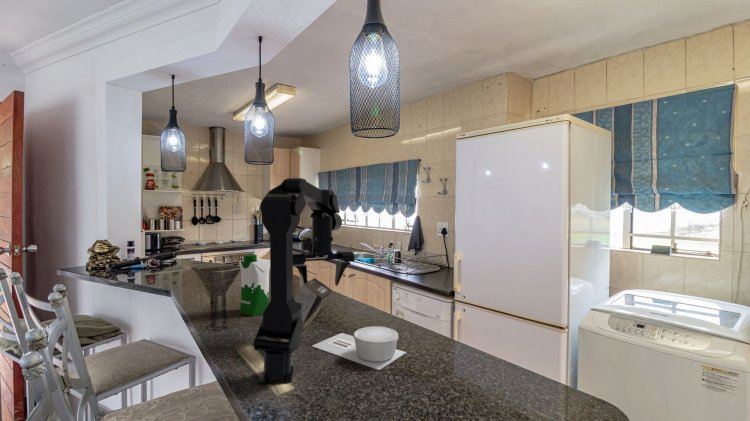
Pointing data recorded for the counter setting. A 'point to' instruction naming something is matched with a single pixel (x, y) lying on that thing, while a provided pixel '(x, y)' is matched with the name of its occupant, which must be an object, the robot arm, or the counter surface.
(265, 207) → the robot arm
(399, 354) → the panel
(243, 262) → the milk carton
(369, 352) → the ramekin
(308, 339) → the counter surface
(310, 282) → the coffee box
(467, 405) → the counter surface
